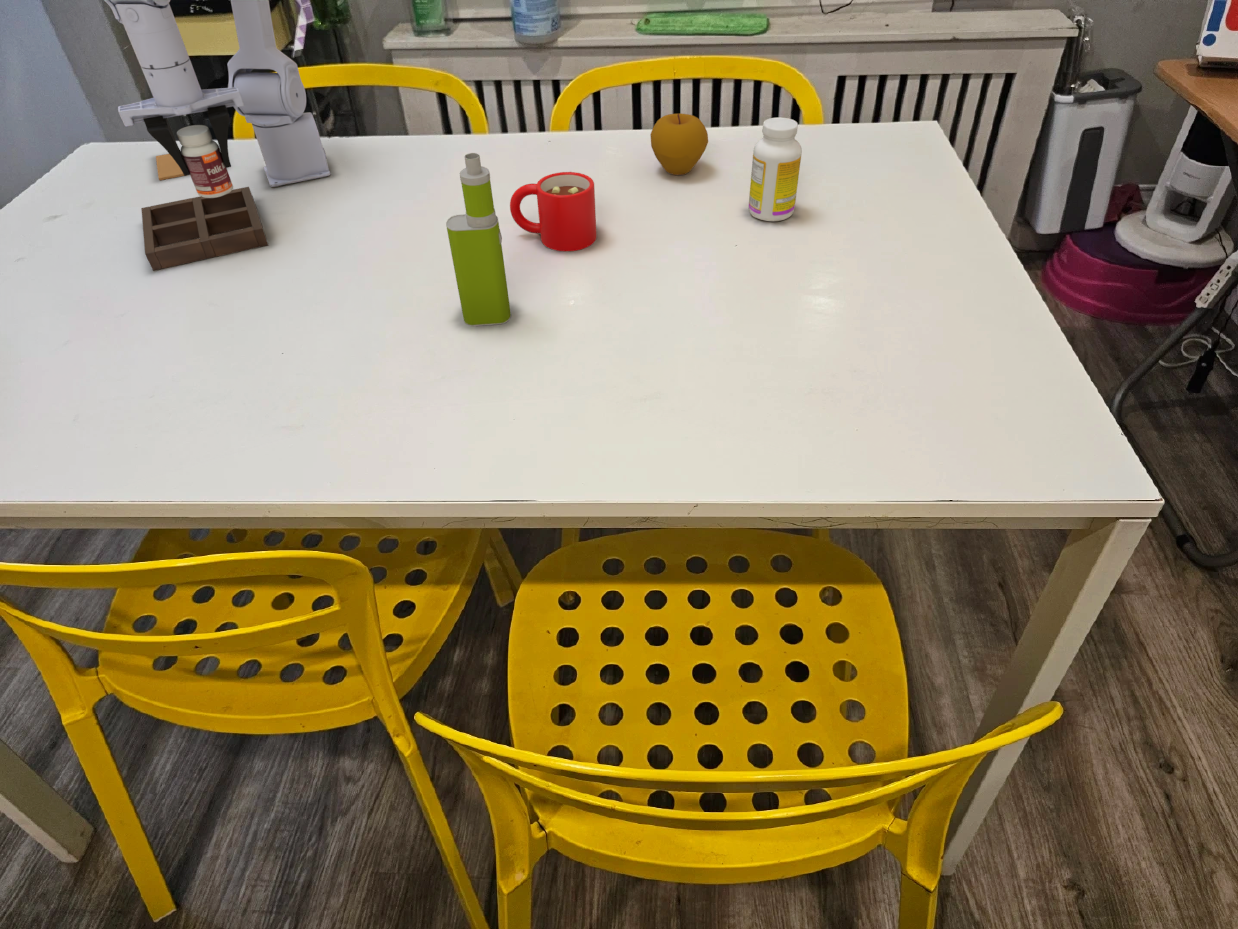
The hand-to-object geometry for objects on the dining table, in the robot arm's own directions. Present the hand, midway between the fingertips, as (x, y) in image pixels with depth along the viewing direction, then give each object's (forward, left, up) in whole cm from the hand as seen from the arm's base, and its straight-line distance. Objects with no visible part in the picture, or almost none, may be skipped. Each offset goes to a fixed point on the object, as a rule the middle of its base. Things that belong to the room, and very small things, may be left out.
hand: (207, 168), depth 108 cm
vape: (-26, +37, -10) cm, 47 cm away
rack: (+3, -2, -10) cm, 11 cm away
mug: (-41, +22, -10) cm, 48 cm away
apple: (-67, +11, -10) cm, 69 cm away
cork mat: (+4, -31, -10) cm, 32 cm away
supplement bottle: (-72, +30, -10) cm, 79 cm away
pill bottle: (0, 0, -3) cm, 3 cm away
